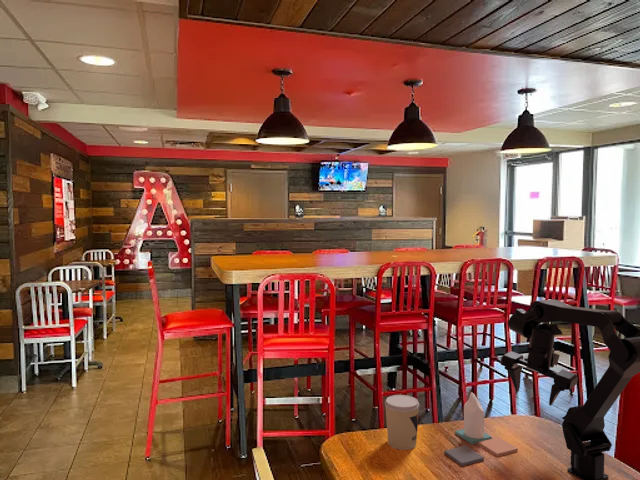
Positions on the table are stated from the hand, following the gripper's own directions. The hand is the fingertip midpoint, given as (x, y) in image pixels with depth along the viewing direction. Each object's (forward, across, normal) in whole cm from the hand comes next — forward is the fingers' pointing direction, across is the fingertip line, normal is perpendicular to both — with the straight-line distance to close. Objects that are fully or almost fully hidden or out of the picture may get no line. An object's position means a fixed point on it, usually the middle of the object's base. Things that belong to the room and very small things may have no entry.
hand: (533, 398), depth 132 cm
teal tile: (+14, +11, +10) cm, 20 cm away
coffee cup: (+14, +23, +27) cm, 38 cm away
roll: (+13, +11, +10) cm, 20 cm away
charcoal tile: (+12, +7, +22) cm, 26 cm away
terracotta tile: (+12, +3, +11) cm, 17 cm away
